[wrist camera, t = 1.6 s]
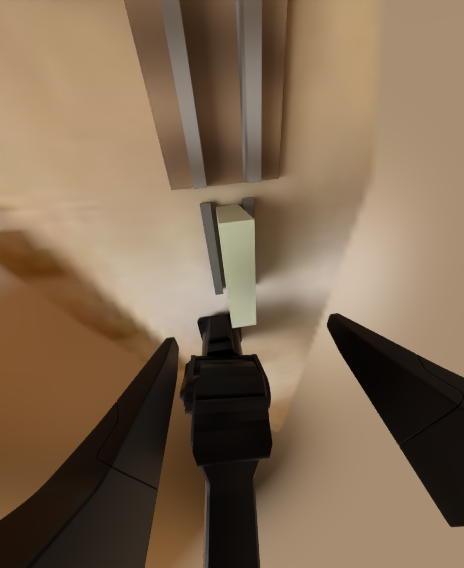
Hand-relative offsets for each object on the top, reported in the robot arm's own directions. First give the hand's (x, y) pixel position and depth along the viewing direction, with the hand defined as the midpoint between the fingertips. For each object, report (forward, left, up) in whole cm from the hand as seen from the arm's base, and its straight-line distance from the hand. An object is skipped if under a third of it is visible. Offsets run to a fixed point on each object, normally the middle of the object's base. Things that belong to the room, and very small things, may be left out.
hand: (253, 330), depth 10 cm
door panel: (0, 0, -13) cm, 13 cm away
